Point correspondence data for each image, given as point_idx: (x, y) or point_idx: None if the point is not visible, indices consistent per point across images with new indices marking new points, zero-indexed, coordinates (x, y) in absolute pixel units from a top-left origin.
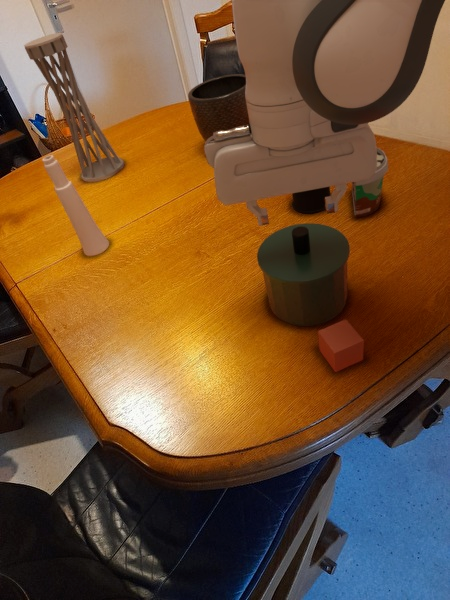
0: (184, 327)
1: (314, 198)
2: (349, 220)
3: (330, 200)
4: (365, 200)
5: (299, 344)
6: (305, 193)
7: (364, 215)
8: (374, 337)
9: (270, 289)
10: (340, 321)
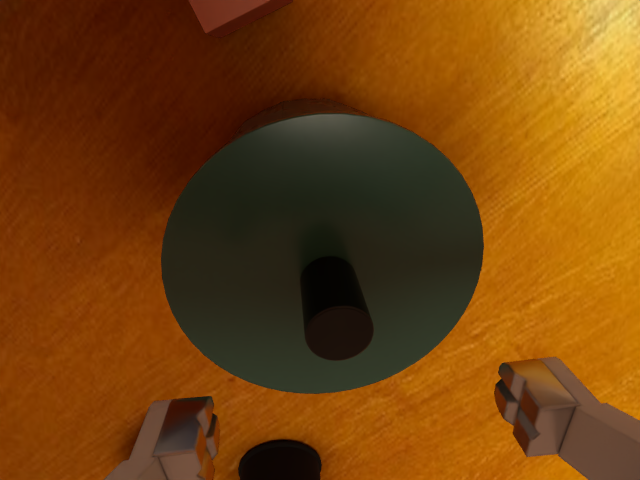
0: (619, 134)
1: (273, 477)
2: None
3: (176, 473)
4: None
5: (344, 33)
6: None
7: None
8: (143, 33)
9: None
10: (222, 24)
